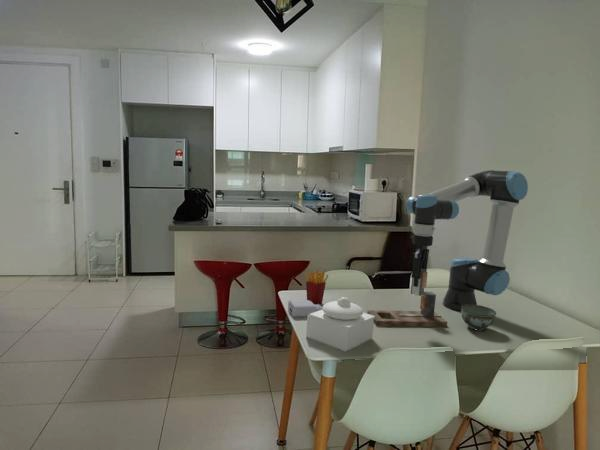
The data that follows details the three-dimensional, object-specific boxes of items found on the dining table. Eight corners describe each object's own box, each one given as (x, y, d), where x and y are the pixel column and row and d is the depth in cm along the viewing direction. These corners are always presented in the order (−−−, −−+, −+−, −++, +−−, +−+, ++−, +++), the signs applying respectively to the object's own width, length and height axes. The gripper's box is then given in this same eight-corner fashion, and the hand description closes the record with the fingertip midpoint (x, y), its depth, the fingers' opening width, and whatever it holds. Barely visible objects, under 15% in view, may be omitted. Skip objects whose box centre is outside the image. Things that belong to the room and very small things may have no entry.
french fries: (315, 306, 204) (317, 273, 202) (301, 301, 210) (303, 269, 207) (327, 302, 211) (330, 270, 209) (313, 298, 216) (315, 267, 214)
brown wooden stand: (433, 315, 201) (436, 289, 200) (446, 326, 189) (450, 298, 187) (367, 314, 197) (369, 287, 195) (376, 325, 184) (378, 296, 183)
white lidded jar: (305, 337, 168) (308, 295, 166) (334, 325, 182) (337, 286, 180) (345, 352, 157) (349, 307, 155) (373, 338, 171) (376, 297, 169)
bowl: (454, 321, 196) (456, 303, 195) (486, 323, 196) (488, 305, 195) (464, 333, 182) (467, 313, 181) (499, 335, 182) (501, 316, 181)
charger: (328, 316, 193) (293, 318, 188) (320, 309, 201) (287, 310, 197) (329, 305, 192) (294, 306, 188) (321, 298, 201) (288, 299, 196)
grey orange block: (410, 293, 182) (413, 268, 180) (413, 291, 185) (416, 267, 184) (422, 296, 179) (425, 271, 178) (425, 294, 182) (428, 269, 181)
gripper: (426, 238, 170) (420, 299, 173) (438, 233, 184) (432, 290, 187) (406, 235, 174) (400, 295, 177) (420, 231, 188) (414, 286, 191)
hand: (417, 292), depth 182 cm, fingers closed on grey orange block, 4 cm apart
